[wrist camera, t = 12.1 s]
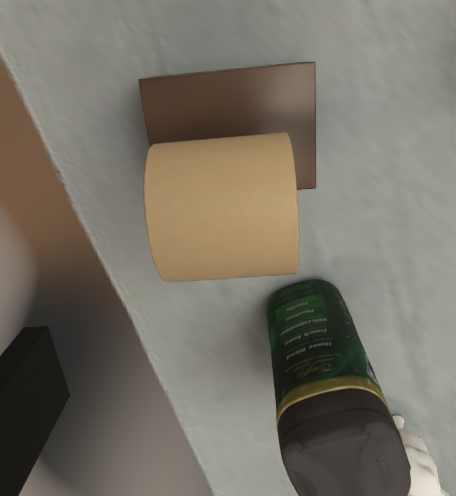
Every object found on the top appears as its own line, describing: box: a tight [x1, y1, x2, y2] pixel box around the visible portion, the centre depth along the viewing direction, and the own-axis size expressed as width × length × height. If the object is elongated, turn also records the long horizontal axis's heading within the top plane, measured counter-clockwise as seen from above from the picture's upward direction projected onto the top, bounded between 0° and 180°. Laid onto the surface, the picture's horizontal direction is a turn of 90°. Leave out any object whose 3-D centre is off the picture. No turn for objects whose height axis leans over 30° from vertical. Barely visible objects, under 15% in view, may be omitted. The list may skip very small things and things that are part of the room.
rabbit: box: [392, 415, 451, 496], centre depth 43 cm, size 12×9×12 cm
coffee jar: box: [267, 280, 411, 496], centre depth 34 cm, size 10×8×19 cm
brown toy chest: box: [139, 62, 316, 190], centre depth 32 cm, size 10×12×6 cm
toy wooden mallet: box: [144, 132, 299, 282], centre depth 23 cm, size 16×6×6 cm
